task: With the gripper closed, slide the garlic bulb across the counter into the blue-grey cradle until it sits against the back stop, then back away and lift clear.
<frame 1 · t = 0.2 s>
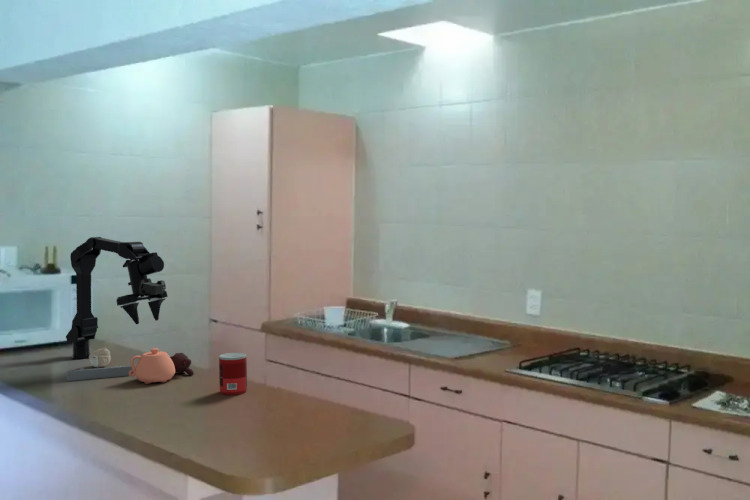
hand: (147, 322, 250), 15 cm above the counter, tool pointing down, fingers open, 9 cm apart
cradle: (100, 374, 240), on the counter
garlic bulb: (100, 367, 251), on the counter
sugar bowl: (152, 381, 230), on the counter
canned food: (233, 392, 216), on the counter
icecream: (179, 373, 241), on the counter
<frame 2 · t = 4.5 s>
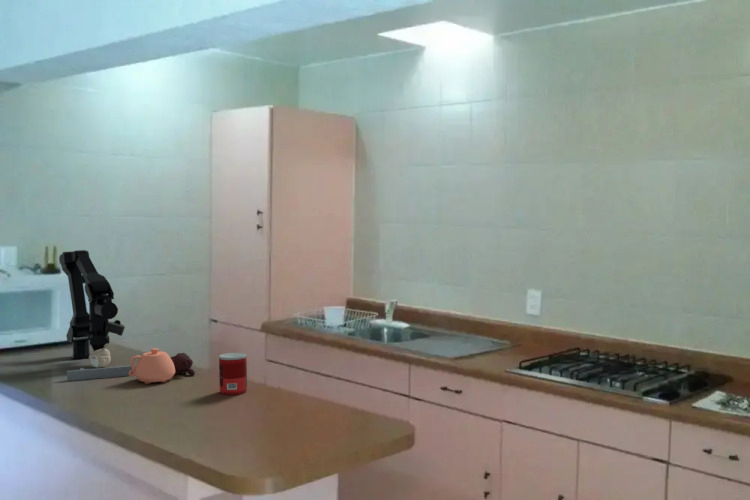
hand: (99, 359, 254), 2 cm above the counter, tool pointing down, fingers closed
garlic bulb: (100, 367, 250), on the counter, touching gripper
everything else where it was.
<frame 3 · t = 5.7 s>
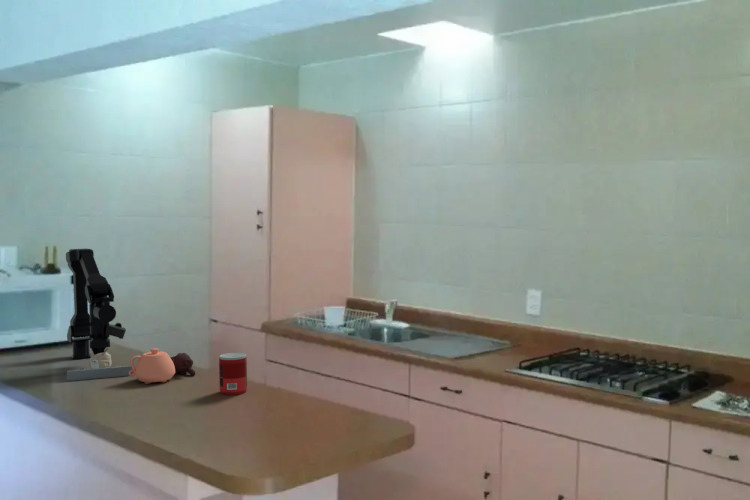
hand: (100, 363, 248), 2 cm above the counter, tool pointing down, fingers closed
garlic bulb: (100, 372, 244), on the counter, touching gripper
everything else where it was.
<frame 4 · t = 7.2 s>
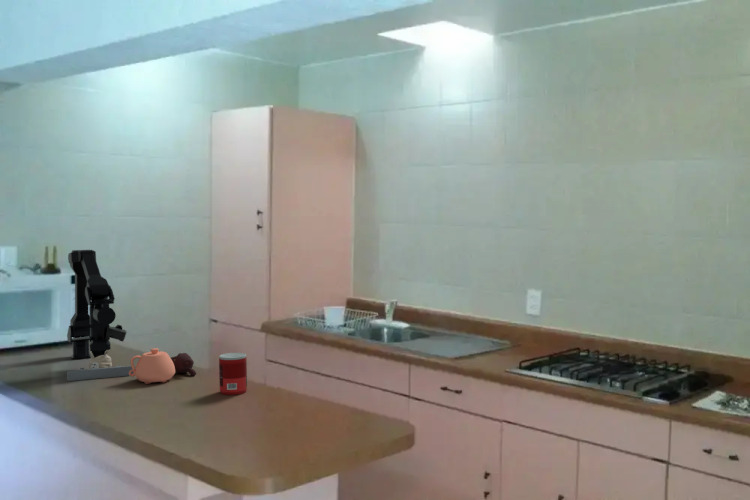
hand: (100, 366, 244), 2 cm above the counter, tool pointing down, fingers closed
garlic bulb: (100, 374, 240), on the counter, touching gripper
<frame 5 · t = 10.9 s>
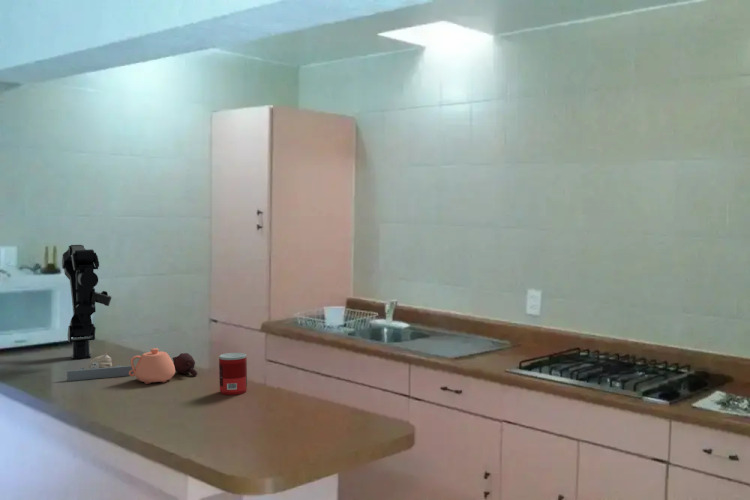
hand: (86, 330, 254), 12 cm above the counter, tool pointing down, fingers closed
garlic bulb: (100, 375, 239), on the counter
at the end: garlic bulb 0.1 cm off-centre on the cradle, point 0.0 cm above the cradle's base; garlic bulb moved 12.1 cm from its start; the gripper is holding nothing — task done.
